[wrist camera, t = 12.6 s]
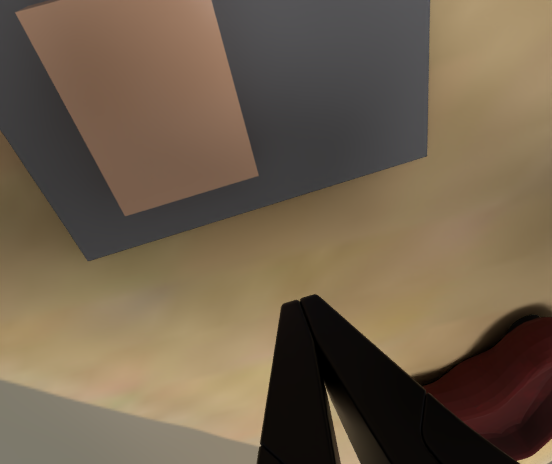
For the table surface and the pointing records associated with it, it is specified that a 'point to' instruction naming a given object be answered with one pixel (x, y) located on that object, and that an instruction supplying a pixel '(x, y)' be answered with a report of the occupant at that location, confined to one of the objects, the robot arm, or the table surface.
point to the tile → (146, 94)
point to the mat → (244, 112)
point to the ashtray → (506, 389)
